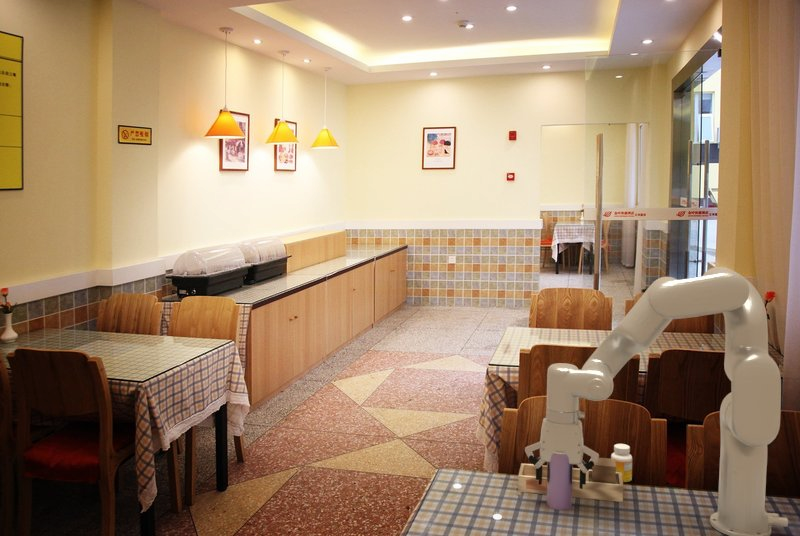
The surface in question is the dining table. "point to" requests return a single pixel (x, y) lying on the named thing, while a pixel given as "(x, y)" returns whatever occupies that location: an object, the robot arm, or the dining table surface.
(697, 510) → the dining table surface
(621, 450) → the supplement bottle
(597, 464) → the walnut block
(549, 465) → the beverage can
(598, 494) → the rack
